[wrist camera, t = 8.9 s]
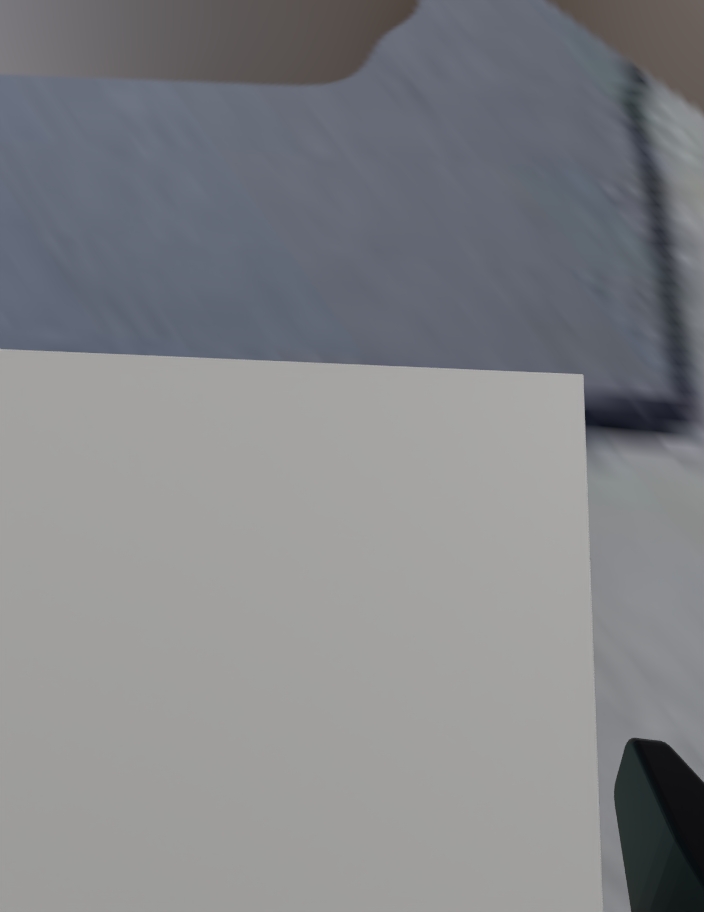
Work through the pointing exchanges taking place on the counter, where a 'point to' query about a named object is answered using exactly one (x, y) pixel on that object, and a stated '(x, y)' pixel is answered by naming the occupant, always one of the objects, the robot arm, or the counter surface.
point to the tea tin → (294, 638)
